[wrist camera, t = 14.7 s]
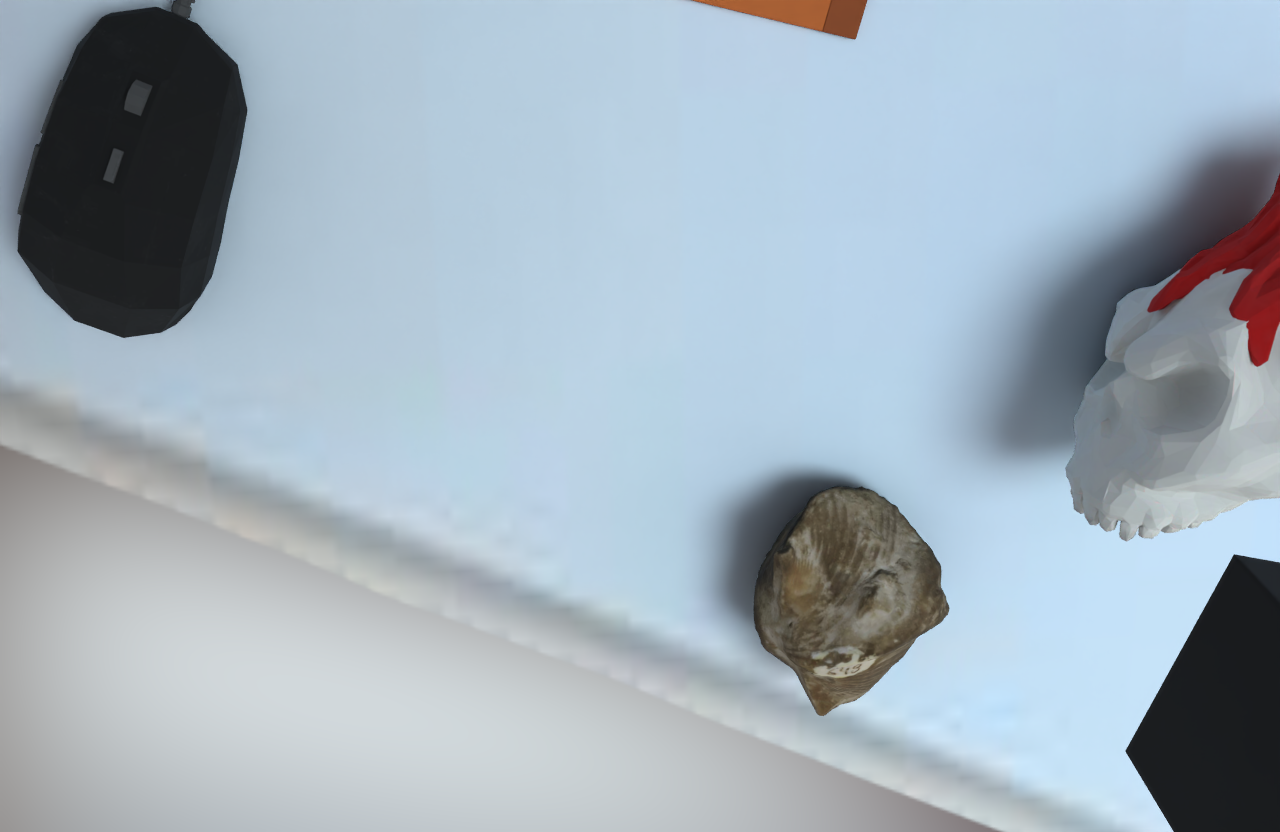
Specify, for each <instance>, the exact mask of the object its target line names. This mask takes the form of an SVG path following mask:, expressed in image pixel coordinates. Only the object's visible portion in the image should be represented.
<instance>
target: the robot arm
mask: <svg viewBox="0 0 1280 832" xmlns="http://www.w3.org/2000/svg"><path fill="white" fill-rule="evenodd" d="M1126 753H1127V755H1128V756H1129V758H1130V760H1131V761H1132V763H1133V765H1134V766H1135V768H1136V770H1137V771H1138V773H1139V775H1140V776H1141V778H1142V780H1143V781H1144V783H1145V785H1146V786H1147V788H1148V790H1149V791H1150V793H1151V795H1152V796H1153V798H1154V800H1155V801H1156V803H1157V805H1158V806H1159V808H1160V810H1161V811H1162V813H1163V815H1164V816H1165V818H1166V820H1167V821H1168V823H1169V825H1170V826H1171V828H1172V830H1173V831H1174V832H1280V563H1279V562H1273V561H1267V560H1262V559H1256V558H1251V557H1245V556H1240V555H1233V557H1232V559H1231V561H1230V563H1229V565H1228V566H1227V568H1226V570H1225V572H1224V574H1223V575H1222V577H1221V579H1220V581H1219V583H1218V584H1217V586H1216V588H1215V590H1214V592H1213V594H1212V595H1211V597H1210V599H1209V601H1208V603H1207V604H1206V606H1205V608H1204V610H1203V612H1202V613H1201V615H1200V617H1199V619H1198V621H1197V622H1196V624H1195V626H1194V628H1193V630H1192V632H1191V633H1190V635H1189V637H1188V639H1187V641H1186V642H1185V644H1184V646H1183V648H1182V650H1181V651H1180V653H1179V655H1178V657H1177V659H1176V661H1175V662H1174V664H1173V666H1172V668H1171V670H1170V671H1169V673H1168V675H1167V677H1166V679H1165V680H1164V682H1163V684H1162V686H1161V688H1160V689H1159V691H1158V693H1157V695H1156V697H1155V699H1154V700H1153V702H1152V704H1151V706H1150V708H1149V709H1148V711H1147V713H1146V715H1145V717H1144V718H1143V720H1142V722H1141V724H1140V726H1139V727H1138V729H1137V731H1136V733H1135V735H1134V737H1133V738H1132V740H1131V742H1130V744H1129V746H1128V747H1127V749H1126Z"/></svg>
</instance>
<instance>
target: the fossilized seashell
mask: <svg viewBox="0 0 1280 832" xmlns="http://www.w3.org/2000/svg"><path fill="white" fill-rule="evenodd" d="M948 612H949V605H948V603H947V601H946V596H945V594H944V592H943V590H942V589H941V565H940V563H939V562H938V561H937V559H936V557H935V555H934V553H933V551H932V550H931V548H930V547H929V546H928V544H927V543H926V542H924V541H923V540H922V538H921V537H920V536H919V534H918V533H917V532H916V530H915V529H914V528H913V527H912V526H911V525H910V524H909V522H908V521H907V519H906V518H905V517H904V516H903V515H902V514H901V513H900V512H899V510H898V508H897V507H896V506H895V505H893V504H891V503H890V502H889V501H887V500H886V499H885V498H884V497H881V496H879V495H878V494H877V493H876V492H874V491H872V490H869V489H866V488H864V487H859V488H851V487H839V486H837V487H832V488H830V489H827V490H824V491H821V492H819V493H817V494H816V495H814V496H813V497H811V498H810V500H809V502H808V503H807V505H806V507H805V508H804V510H803V511H801V512H800V513H799V514H797V515H796V516H795V517H794V518H793V519H792V520H791V521H790V522H789V523H788V524H787V525H786V526H785V528H784V529H783V531H782V532H781V533H780V535H779V536H778V538H777V540H776V541H775V543H774V545H773V547H772V549H771V550H770V551H769V553H768V554H767V555H766V559H765V560H764V562H763V563H762V565H761V567H760V570H759V572H758V578H757V580H756V585H755V593H754V621H755V627H756V630H757V632H758V634H759V637H760V639H761V644H762V645H763V647H764V648H765V649H766V650H767V651H768V652H770V653H771V654H773V655H774V656H775V657H777V658H778V659H780V660H781V661H782V662H784V663H785V664H787V665H788V666H790V667H791V668H792V669H793V670H794V671H795V673H796V674H797V676H798V678H799V680H800V682H801V684H802V686H803V688H804V690H805V692H806V694H807V696H808V698H809V700H810V701H811V703H812V705H813V707H814V709H815V710H816V713H817V714H818V715H820V716H824V715H826V714H827V713H828V712H830V711H831V710H832V709H834V708H836V707H838V706H839V705H841V704H844V703H849V702H852V701H855V700H857V699H858V698H860V697H861V696H863V695H864V694H865V693H866V692H868V691H869V690H870V689H871V688H872V687H873V686H874V685H875V684H876V683H877V682H878V681H879V680H880V679H881V678H882V677H883V676H884V675H885V674H886V673H887V672H888V670H889V669H890V668H891V667H892V666H893V665H894V664H895V663H897V662H898V661H899V660H900V659H901V658H902V657H903V656H904V655H905V653H906V652H907V651H908V649H909V648H910V647H911V645H912V644H913V643H914V641H915V639H916V638H917V637H918V636H920V635H922V634H924V633H925V632H927V631H928V630H930V629H932V628H933V627H935V626H936V625H938V624H939V623H941V622H942V621H943V619H944V618H945V617H946V615H948Z"/></svg>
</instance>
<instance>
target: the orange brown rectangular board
mask: <svg viewBox="0 0 1280 832" xmlns="http://www.w3.org/2000/svg"><path fill="white" fill-rule="evenodd" d="M693 1H697V2H701V3H705V4H709V5H714V6H718V7H722V8H726V9H730V10H734V11H739V12H743V13H747V14H751V15H755V16H760V17H764V18H768V19H772V20H776V21H780V22H785V23H789V24H793V25H797V26H801V27H805V28H810V29H814V30H818V31H822V32H826V33H830V34H834V35H838V36H843V37H847V38H851V39H856V36H857V33H858V29H859V26H860V23H861V19H862V16H863V13H864V9H865V6H866V3H867V0H693Z"/></svg>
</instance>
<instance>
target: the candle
mask: <svg viewBox="0 0 1280 832" xmlns="http://www.w3.org/2000/svg"><path fill="white" fill-rule="evenodd" d="M1116 311H1117V312H1116V314H1115V316H1114V318H1113V321H1112V324H1111V327H1110V330H1109V333H1108V336H1107V339H1106V350H1105V356H1106V357H1107V359H1106V361H1105V362H1104V363H1103V365H1102V366H1101V367H1100V369H1099V370H1098V371H1097V373H1096V374H1095V375H1094V377H1093V378H1092V379H1091V380H1090V382H1089V383H1088V384H1087V386H1086V387H1085V390H1084V397H1083V400H1082V403H1081V405H1080V407H1079V409H1078V411H1077V414H1076V416H1075V418H1074V426H1073V428H1074V432H1075V437H1076V442H1075V450H1074V454H1073V456H1072V458H1071V459H1070V461H1069V463H1068V464H1067V466H1066V475H1067V478H1068V479H1069V482H1070V486H1071V494H1072V498H1073V505H1074V509H1075V510H1076V511H1077V512H1079V513H1080V514H1082V513H1084V514H1085V518H1086V519H1087V521H1088V522H1089V524H1090V525H1097V524H1098V523H1099V522H1100V526H1101V527H1102V528H1103V529H1104V530H1105V531H1106V532H1107V531H1112V530H1115V528H1116V525H1117V522H1118V520H1119V521H1121V524H1120V533H1119V535H1120V538H1121V539H1123V540H1125V541H1128V540H1130V539H1132V538H1133V537H1134V535H1135V534H1136V532H1137V530H1138V528H1139V536H1140V537H1142V538H1154V537H1155V536H1157V535H1158V534H1159V532H1160V531H1162V532H1164V533H1173V532H1178V531H1180V530H1183V529H1186V528H1195V527H1198V526H1199V525H1200V524H1201V523H1202V522H1205V521H1211V520H1213V519H1214V518H1215V517H1217V516H1218V514H1220V513H1223V512H1227V511H1231V510H1233V509H1234V508H1236V507H1238V506H1240V505H1242V504H1244V503H1245V502H1247V501H1251V500H1257V499H1271V498H1280V174H1279V176H1278V180H1277V183H1276V187H1275V190H1274V193H1273V195H1272V197H1271V199H1270V200H1269V201H1268V203H1267V204H1266V205H1265V206H1264V207H1263V208H1262V209H1261V211H1260V212H1259V213H1258V214H1257V215H1256V216H1255V218H1254V219H1253V220H1251V221H1250V222H1249V223H1248V224H1246V225H1245V226H1244V227H1242V228H1241V229H1239V230H1237V231H1235V232H1234V233H1232V234H1230V235H1228V236H1227V237H1225V238H1224V239H1222V240H1221V241H1219V242H1218V243H1217V244H1216V245H1215V246H1214V247H1212V248H1210V249H1205V250H1201V251H1200V252H1199V253H1197V254H1196V255H1195V256H1194V257H1192V258H1191V259H1190V260H1189V261H1188V262H1187V263H1186V264H1185V265H1184V266H1183V268H1181V269H1180V270H1178V271H1177V272H1175V273H1174V274H1172V275H1171V276H1169V277H1168V278H1166V279H1165V280H1163V281H1162V282H1160V283H1158V284H1157V285H1155V286H1149V287H1143V288H1138V289H1136V290H1134V291H1132V292H1130V293H1128V294H1127V295H1126V296H1125V297H1123V298H1122V299H1121V300H1120V301H1119V302H1118V303H1117V306H1116Z"/></svg>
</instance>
